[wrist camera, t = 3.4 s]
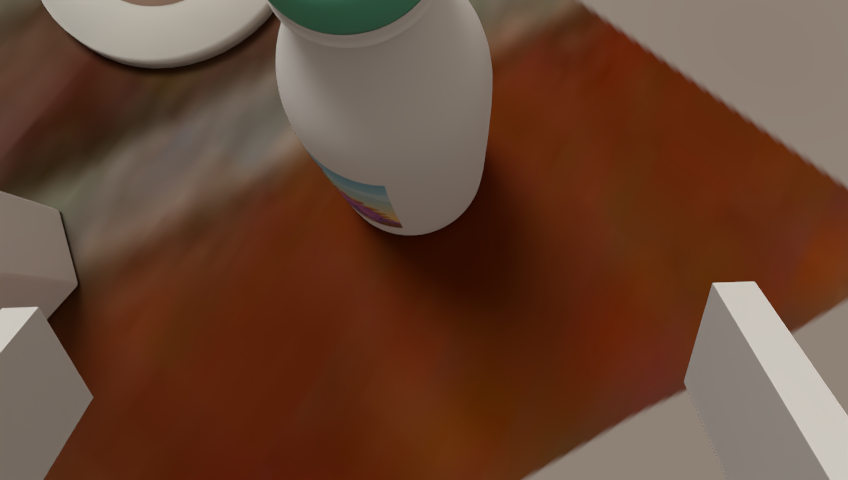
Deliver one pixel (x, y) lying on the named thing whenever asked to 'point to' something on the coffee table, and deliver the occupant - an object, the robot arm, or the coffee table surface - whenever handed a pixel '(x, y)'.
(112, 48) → the trivet
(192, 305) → the coffee table surface
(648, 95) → the coffee table surface
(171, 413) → the coffee table surface
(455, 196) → the milk bottle
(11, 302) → the jar
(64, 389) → the robot arm
